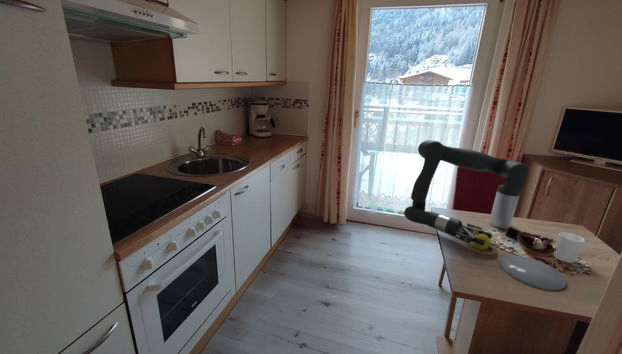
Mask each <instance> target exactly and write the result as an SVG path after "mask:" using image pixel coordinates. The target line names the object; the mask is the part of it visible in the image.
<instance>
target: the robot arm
mask: <svg viewBox="0 0 622 354" xmlns="http://www.w3.org/2000/svg"><path fill="white" fill-rule="evenodd" d="M417 151H418V154H419V156H420V157H422V158H423V159H424V162H423V167H422V169H421V170H420V173H419V174H418V176H417V178H416V179H415V182H414V185H413V188H412V191H411V195H410V199H411V201H412V203H411V205H410V206H407V207H405V209H404V212H403V215H404V217H405V218H406V219H407V220H408V221H410V222H413V223H416V224H421V225H426V226H427V227H430V228H432V229H434V230H437V231H439V232H441V233H444V234H446V235H449V236H452V237H453V238H455V239H457V240H460V241H462V242H465V243H467V244H470V243H473V244H474V243H477V244H480V245H482V246H483V245H484V244H485V240H482V239H480V238H477V237H476V236H477V235H479V234H485V235H487V236H488V237H489V240H490V239H491V238H492V236H493V235H492V233H490V232H488V231H484V230H483V228H482V227H480V226H478V225H474V224H471V223H466V225H463V221H461V220H459V219H456V218H454V217H451V216H447V215H444V214H440V213H437V212H434V211H430V210H428V211H427V210H426V205H427V203H426V200H427V198H428V194H429V191H430V188H431V187H430V186H431V184H432V180H433V178H434V175H435V173H436V172H437V169H438V167H439V164H440V162H441V161H442V162H445V163H448V164H451V165H453V166H456V167H459V168H462V169H466V170H469V171H475V172H489V173H493V174H497V175H498V176H501V177H503V178H505V179H506V180H505V182H504V184H501V185H498V187H497V190H496V193H495V198H494V202H493V206H492V209H491V214H490V218H489V221H488V223H489V224H490V225H491V226H493V227H496V228H498V229H499V228H500V229H505V230H506V229H510V228H511V226H512V223H513V220H514V216H515V212H516V208H517V206H518V201H519V198H520V195H521V193H522V192H523V190H524V189H525V185H526V183H527V181H528V177H529V174H530V169H529V167H528V165H526V164H525V163H523V162H520V161H517V160H514V159H508V158H507V159H506V158H499V157H494V156H491V155H489V154H486V153H484V152H480V151H477V150H473V149H467V148H463V147H453V146H447V145H444V144H443V143H442V142H440V141H437V140H432V139H431V140H430V139H429V140H428V139H427V140H424V141H422V142H420V144H419V145H418V150H417Z"/></svg>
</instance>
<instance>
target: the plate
mask: <svg viewBox="0 0 622 354" xmlns="http://www.w3.org/2000/svg"><path fill="white" fill-rule="evenodd" d="M499 265H500V268H501V269H502V270H503V271H504V272H505V273H506V274H507V275H509V276H510V277H512V278H513V279H515V280H517V281H518V282H521V283H523V284H524V285H528V286H531V287H534V288H537V289H541V290H546V291H560V290H563V289H565V288H566V286H567V280H566V278H565V276H564V275H563V274H562V273H561V272H560V271H558V270H557V269H555V268H554V267H552V266H551V265H548V264H546V263H544V262H542V261H540V260H536V259H534V258H531V257H527V256H522V255H517V254H515V255H513V254H511V255H510V254H508V255H504V256H501V258H500V260H499Z"/></svg>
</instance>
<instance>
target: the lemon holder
mask: <svg viewBox="0 0 622 354" xmlns="http://www.w3.org/2000/svg"><path fill="white" fill-rule="evenodd" d="M486 250H488V251H482V250H481V251H479V250H478V249H477V248H473V247H470V248H469V251H468V253H469V254H471V255H473V256H475V257H478V258H480V259H491V260H493V259H494V258H495V257H496V256H497V255H498V249H497V248H496V247H495V246H494V245H493V244H491V243H490V244H489V247H488V248H487V249H486Z"/></svg>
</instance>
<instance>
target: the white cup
mask: <svg viewBox="0 0 622 354" xmlns="http://www.w3.org/2000/svg"><path fill="white" fill-rule="evenodd" d="M585 242H586V240H585V239H584V238H583V237H582V236H580V235H578V234H575V233H571V232H564V231H561V232H559V233H558V236H557V240H556V243H555V247H556V251H555V250H554V252H553V257H555V258H556V259H557V260H559V261H562V262H564V263H569V264H573V263H575V262H576V260H577V258H578V257H579V256H580V255H579V254H580V253H581V251H582V248H583V247H584V244H585Z"/></svg>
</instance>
